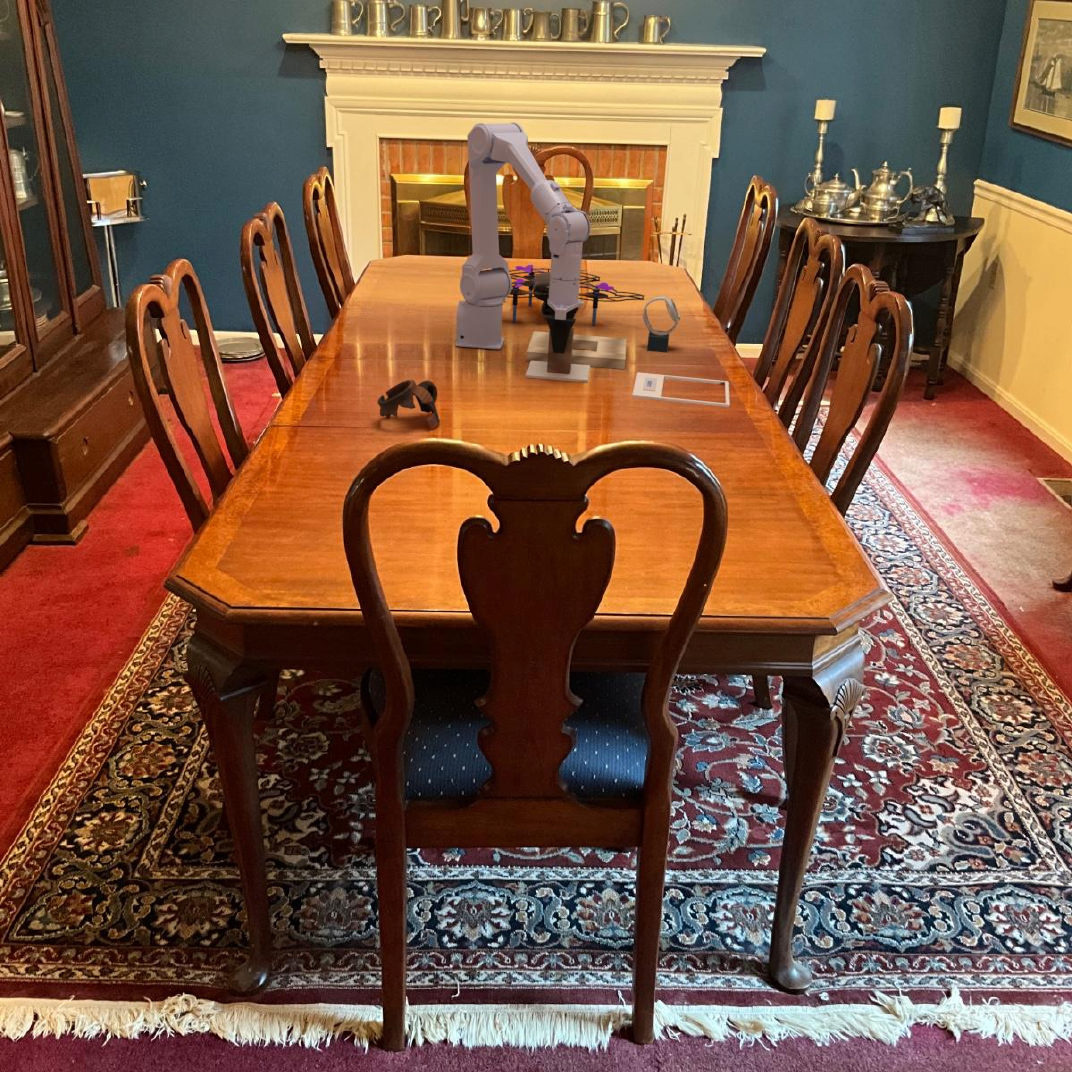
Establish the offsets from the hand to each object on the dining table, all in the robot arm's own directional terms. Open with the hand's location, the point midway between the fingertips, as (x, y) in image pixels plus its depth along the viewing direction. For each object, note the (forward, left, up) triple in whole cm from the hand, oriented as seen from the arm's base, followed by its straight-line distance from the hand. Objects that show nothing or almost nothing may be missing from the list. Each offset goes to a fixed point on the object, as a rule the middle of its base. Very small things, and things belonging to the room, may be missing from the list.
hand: (560, 347), depth 208 cm
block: (0, 0, -5) cm, 5 cm away
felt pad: (0, 0, -5) cm, 5 cm away
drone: (-5, +46, -5) cm, 47 cm away
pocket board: (+3, +14, -5) cm, 15 cm away
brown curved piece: (-22, -35, -5) cm, 41 cm away
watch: (+20, +24, -5) cm, 32 cm away
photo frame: (+24, -5, -6) cm, 25 cm away
